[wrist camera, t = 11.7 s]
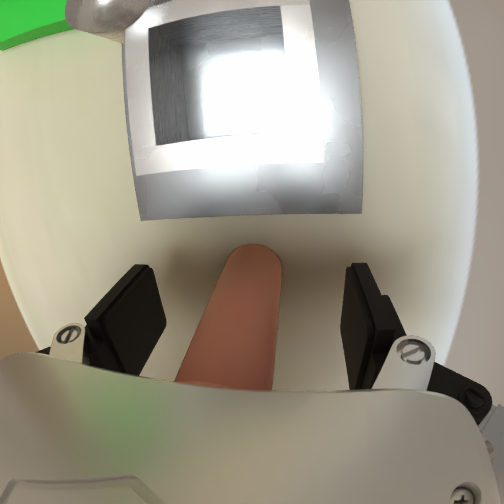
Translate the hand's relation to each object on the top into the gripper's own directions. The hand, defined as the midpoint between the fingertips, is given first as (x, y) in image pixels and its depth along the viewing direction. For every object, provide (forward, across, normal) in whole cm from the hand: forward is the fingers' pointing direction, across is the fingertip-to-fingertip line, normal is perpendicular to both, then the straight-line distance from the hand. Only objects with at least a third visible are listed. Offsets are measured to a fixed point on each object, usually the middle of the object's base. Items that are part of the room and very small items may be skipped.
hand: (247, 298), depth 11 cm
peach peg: (+2, 0, 0) cm, 2 cm away
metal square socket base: (+2, 0, -8) cm, 8 cm away
